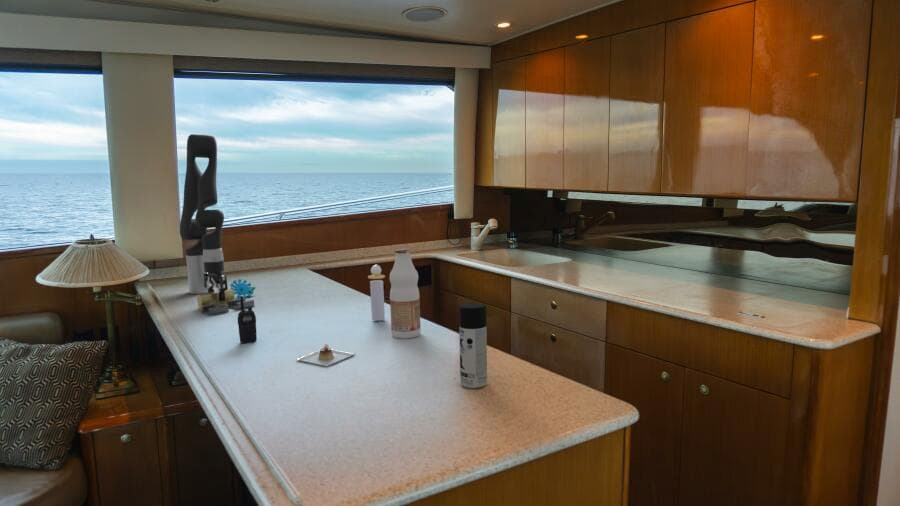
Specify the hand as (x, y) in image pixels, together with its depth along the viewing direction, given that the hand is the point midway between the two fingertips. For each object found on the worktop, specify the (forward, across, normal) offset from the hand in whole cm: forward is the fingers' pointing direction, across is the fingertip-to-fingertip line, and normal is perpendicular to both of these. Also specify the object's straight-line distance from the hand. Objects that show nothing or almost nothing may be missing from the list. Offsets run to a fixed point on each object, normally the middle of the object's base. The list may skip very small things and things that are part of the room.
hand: (216, 299), depth 241 cm
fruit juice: (+4, +92, +16) cm, 93 cm away
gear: (+3, -8, +16) cm, 18 cm away
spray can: (+4, +137, -6) cm, 137 cm away
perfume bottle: (+4, +71, +23) cm, 74 cm away
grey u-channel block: (+3, +9, 0) cm, 9 cm away
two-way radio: (+4, +56, -19) cm, 59 cm away
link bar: (+3, 0, 0) cm, 3 cm away
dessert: (+4, +90, -15) cm, 91 cm away
